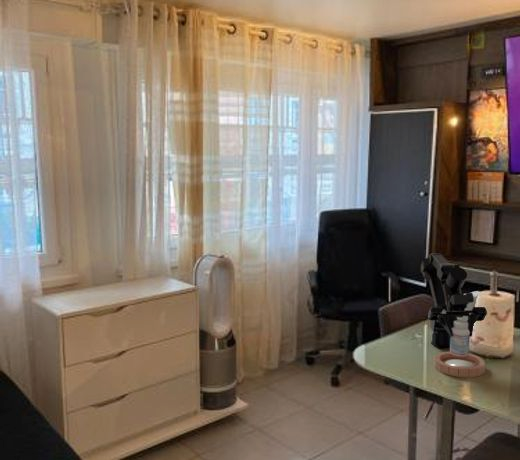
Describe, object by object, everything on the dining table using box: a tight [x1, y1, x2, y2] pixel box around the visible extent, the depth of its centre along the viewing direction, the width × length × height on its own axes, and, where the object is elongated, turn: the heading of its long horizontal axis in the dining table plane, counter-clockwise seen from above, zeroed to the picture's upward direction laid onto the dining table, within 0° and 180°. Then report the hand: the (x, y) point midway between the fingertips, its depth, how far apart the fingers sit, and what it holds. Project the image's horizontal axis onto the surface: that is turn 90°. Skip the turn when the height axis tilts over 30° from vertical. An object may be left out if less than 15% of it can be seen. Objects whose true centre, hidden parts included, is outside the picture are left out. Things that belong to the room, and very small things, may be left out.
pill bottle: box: [449, 319, 471, 357], centre depth 182 cm, size 6×6×11 cm
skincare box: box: [462, 290, 481, 329], centre depth 224 cm, size 8×6×15 cm
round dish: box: [433, 350, 486, 378], centre depth 183 cm, size 16×16×3 cm
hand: (461, 336), depth 180 cm, fingers closed on pill bottle, 6 cm apart
